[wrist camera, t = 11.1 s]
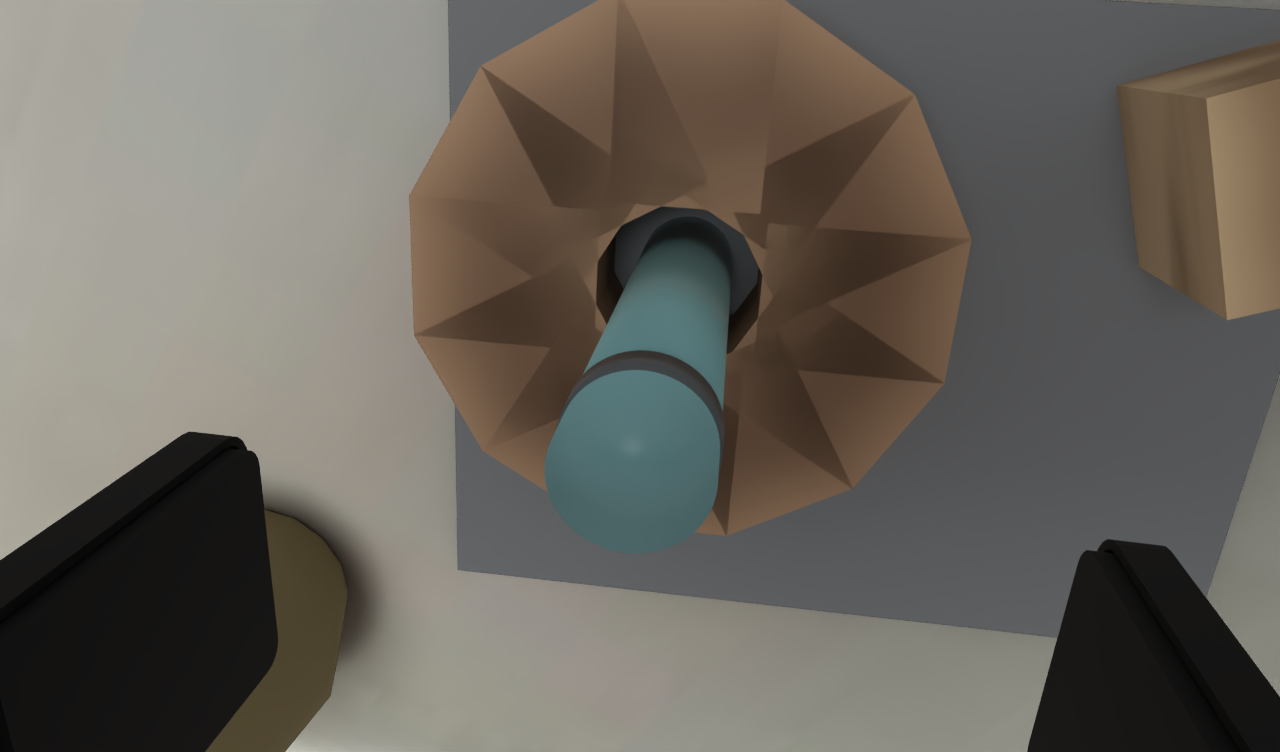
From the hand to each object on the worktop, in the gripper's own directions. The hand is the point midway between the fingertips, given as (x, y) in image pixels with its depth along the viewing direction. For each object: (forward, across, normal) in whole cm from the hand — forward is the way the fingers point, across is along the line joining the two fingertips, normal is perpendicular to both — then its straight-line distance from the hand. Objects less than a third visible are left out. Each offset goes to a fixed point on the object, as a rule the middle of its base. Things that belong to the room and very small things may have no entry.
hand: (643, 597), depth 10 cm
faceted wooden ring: (+17, +1, 0) cm, 17 cm away
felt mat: (+18, -4, +2) cm, 18 cm away
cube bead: (+18, -13, -4) cm, 22 cm away
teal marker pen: (+17, +1, 0) cm, 17 cm away
